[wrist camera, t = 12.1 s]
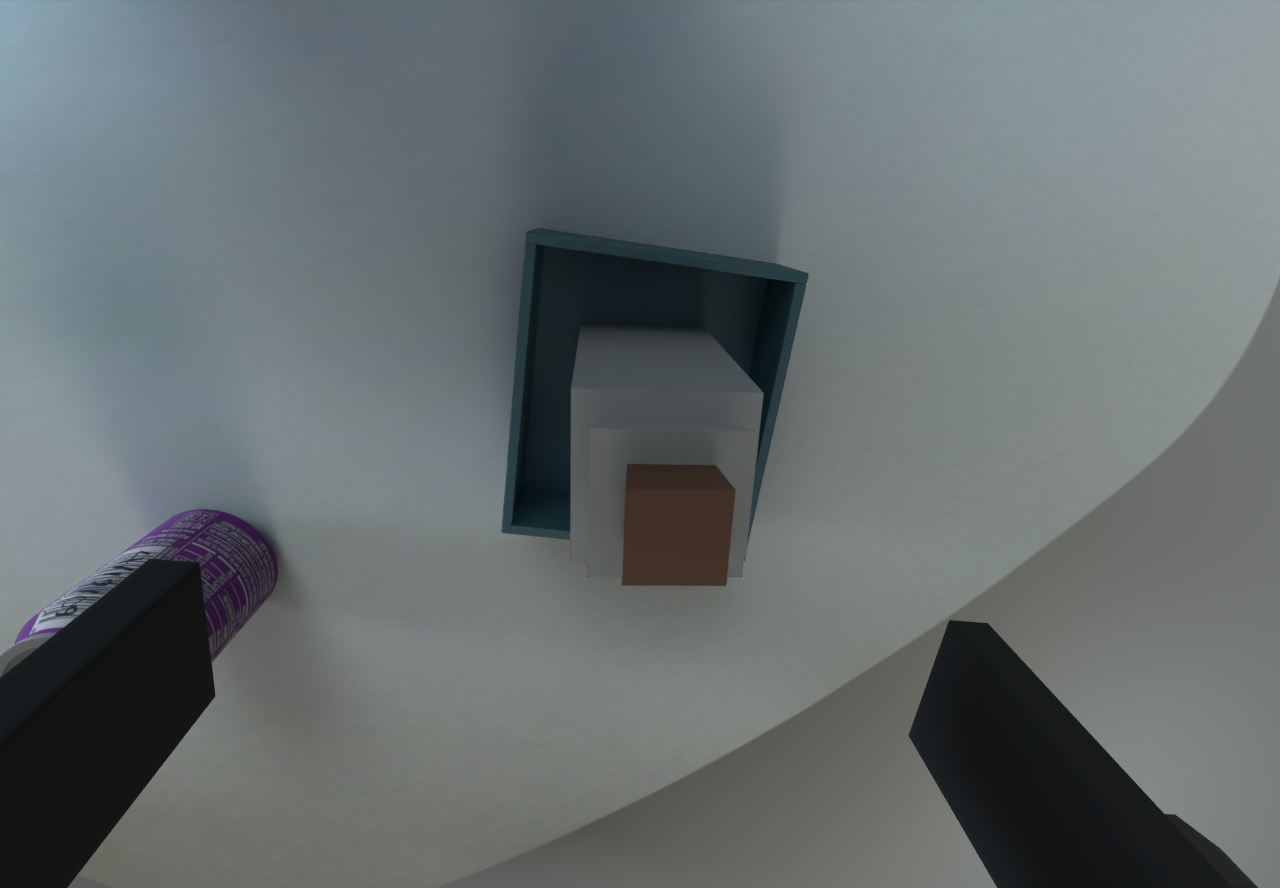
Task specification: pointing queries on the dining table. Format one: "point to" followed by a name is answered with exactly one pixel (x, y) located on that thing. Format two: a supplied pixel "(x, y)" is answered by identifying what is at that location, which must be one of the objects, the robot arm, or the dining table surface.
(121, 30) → the dining table surface
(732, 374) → the perfume bottle
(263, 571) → the beverage can
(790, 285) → the case
